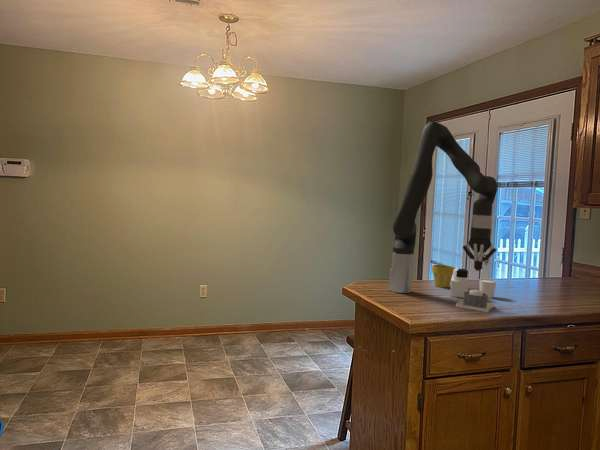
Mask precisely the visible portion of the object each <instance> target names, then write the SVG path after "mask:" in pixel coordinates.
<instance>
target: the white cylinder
mask: <svg viewBox="0 0 600 450" xmlns="http://www.w3.org/2000/svg"><path fill="white" fill-rule="evenodd" d="M496 284H497V282H496V281H493V280H489V279H479V285H478V286H479V291H482V292H483V293H485V294H487V295H488V299H493V298H494V296H495V295H494V294H495V289H496Z"/></svg>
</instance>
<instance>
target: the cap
mask: <svg viewBox="0 0 600 450" xmlns="http://www.w3.org/2000/svg"><path fill="white" fill-rule="evenodd" d="M468 291H469V294H470V295H476V296H483V292H482V291H480V290H476V289H468Z"/></svg>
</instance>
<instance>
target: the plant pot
mask: <svg viewBox="0 0 600 450" xmlns="http://www.w3.org/2000/svg"><path fill="white" fill-rule="evenodd" d="M454 269H455V267H454V266H451V265H446V264H432V265H431V273H432V275H433V281H434V286H435V287H438V288H450V287H451V279H452V278H453V270H454Z"/></svg>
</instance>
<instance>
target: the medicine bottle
mask: <svg viewBox="0 0 600 450" xmlns="http://www.w3.org/2000/svg"><path fill="white" fill-rule="evenodd" d="M468 274H469V271H468V270H467V269H466V268H456V267H455V268H454V270H453V275H452V278H451V282H450V290H449V291H450V294H449V295H450V297H451V298H459V299H461V298H462V299H464V292H467V291H469V286H470V285H469V283H470V282H469V279H468V276H469V275H468Z"/></svg>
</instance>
